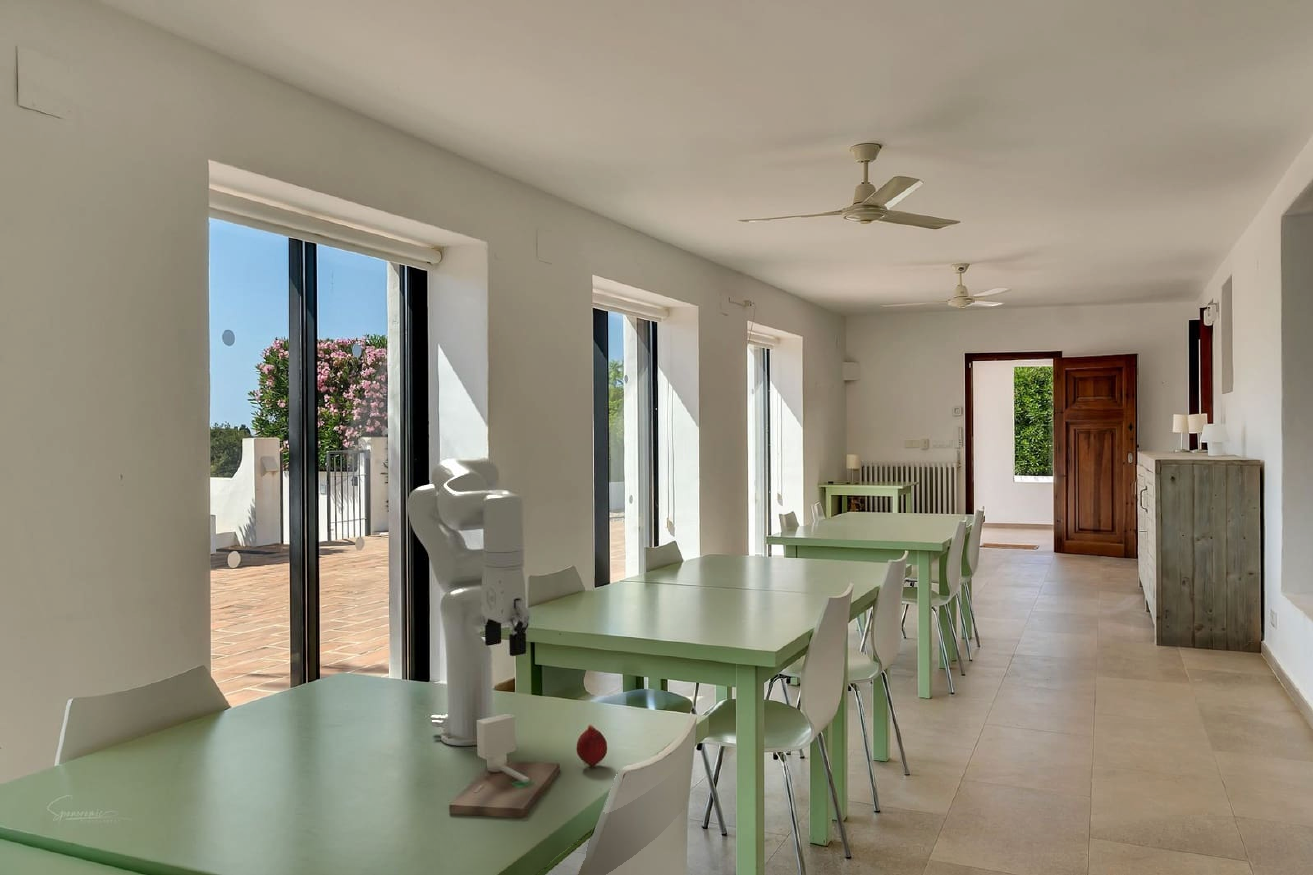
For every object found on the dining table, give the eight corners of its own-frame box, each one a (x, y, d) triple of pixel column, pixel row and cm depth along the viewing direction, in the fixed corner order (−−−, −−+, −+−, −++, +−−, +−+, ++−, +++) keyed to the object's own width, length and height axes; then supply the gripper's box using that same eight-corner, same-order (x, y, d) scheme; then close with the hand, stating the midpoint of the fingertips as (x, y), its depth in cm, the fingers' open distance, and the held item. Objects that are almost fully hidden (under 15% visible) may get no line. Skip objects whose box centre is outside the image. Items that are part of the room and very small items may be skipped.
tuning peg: (476, 770, 167) (475, 720, 167) (507, 761, 172) (506, 712, 172) (510, 789, 158) (509, 736, 158) (542, 779, 162) (540, 727, 162)
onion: (612, 762, 175) (611, 721, 175) (600, 773, 169) (599, 730, 169) (584, 760, 177) (583, 718, 177) (572, 770, 171) (571, 728, 171)
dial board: (449, 813, 153) (449, 804, 153) (494, 768, 173) (494, 759, 173) (523, 817, 150) (523, 808, 150) (559, 771, 171) (559, 762, 171)
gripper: (465, 556, 176) (466, 643, 177) (507, 567, 163) (509, 662, 163) (500, 552, 181) (501, 637, 181) (544, 563, 167) (545, 655, 168)
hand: (505, 649), depth 172 cm, fingers open, 9 cm apart
